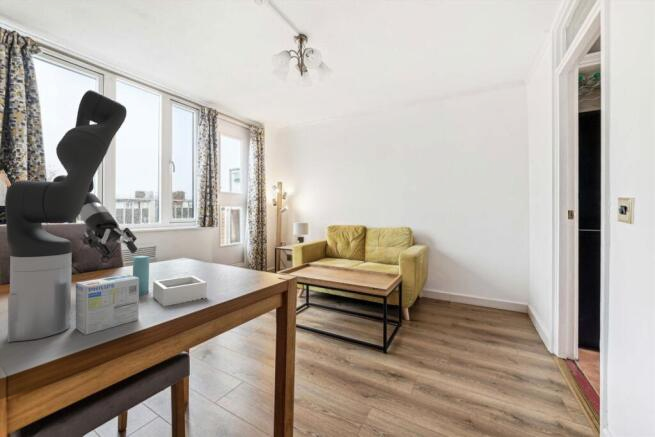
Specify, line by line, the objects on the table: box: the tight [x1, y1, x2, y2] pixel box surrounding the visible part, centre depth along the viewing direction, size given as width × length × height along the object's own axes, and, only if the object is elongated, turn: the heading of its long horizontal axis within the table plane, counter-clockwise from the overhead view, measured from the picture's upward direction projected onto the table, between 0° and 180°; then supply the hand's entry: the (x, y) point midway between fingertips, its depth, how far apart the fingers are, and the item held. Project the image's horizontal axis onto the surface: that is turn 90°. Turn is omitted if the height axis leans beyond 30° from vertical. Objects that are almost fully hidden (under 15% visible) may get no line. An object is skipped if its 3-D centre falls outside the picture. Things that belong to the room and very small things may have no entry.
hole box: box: [152, 275, 208, 307], centre depth 85 cm, size 12×12×5 cm
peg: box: [132, 255, 150, 296], centre depth 89 cm, size 4×4×12 cm
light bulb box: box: [75, 274, 140, 336], centre depth 64 cm, size 11×7×11 cm, turn 149°
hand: (122, 253), depth 90 cm, fingers open, 8 cm apart
